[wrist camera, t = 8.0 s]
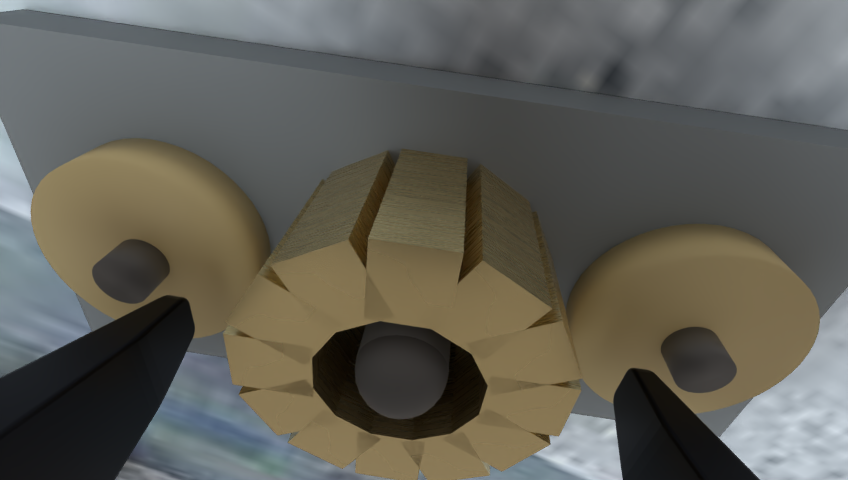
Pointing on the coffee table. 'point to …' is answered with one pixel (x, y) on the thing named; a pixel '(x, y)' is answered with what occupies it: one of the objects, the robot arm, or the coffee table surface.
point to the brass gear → (410, 320)
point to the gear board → (482, 144)
